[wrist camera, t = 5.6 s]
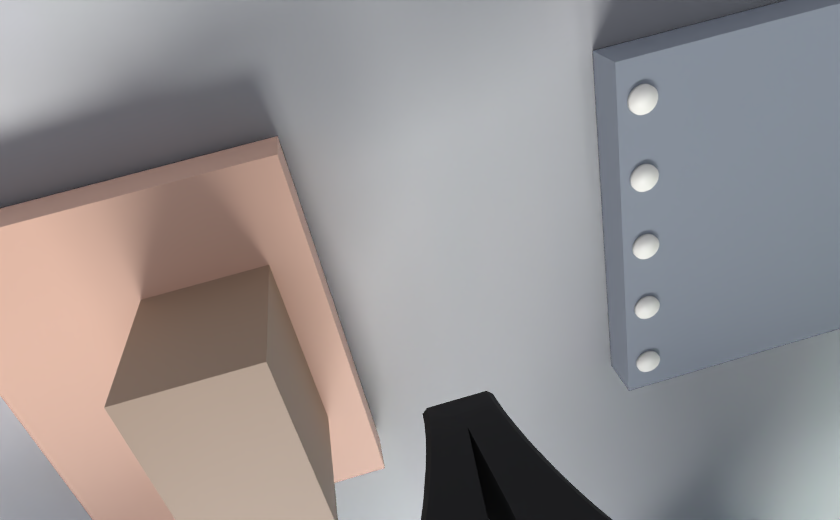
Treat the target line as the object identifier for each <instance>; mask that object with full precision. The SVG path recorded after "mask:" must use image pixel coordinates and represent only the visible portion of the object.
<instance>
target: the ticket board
mask: <svg viewBox="0 0 840 520" xmlns="http://www.w3.org/2000/svg"><path fill="white" fill-rule="evenodd" d="M593 64H594V81H595V97H596V114H597V131H598V148H599V165H600V181H601V198H602V215H603V232H604V248H605V265H606V282H607V299H608V316H609V332H610V349H611V366H612V367H613V369H614V370H615V372H616V373H617V374H618V376H619V377H620V379H621V380H622V382H623V383H624V384H625V386H626V387H627V389H628V390H629V391H630V390H633V389H637V388H640V387H644V386H647V385H650V384H654V383H657V382H660V381H664V380H667V379H671V378H674V377H677V376H681V375H684V374H688V373H691V372H694V371H698V370H701V369H705V368H708V367H711V366H715V365H718V364H722V363H725V362H728V361H732V360H735V359H739V358H742V357H745V356H749V355H752V354H756V353H759V352H762V351H766V350H769V349H773V348H776V347H779V346H783V345H786V344H790V343H793V342H796V341H800V340H803V339H807V338H810V337H813V336H817V335H820V334H824V333H827V332H830V331H834V330H837V329H840V0H786V1H782V2H778V3H774V4H770V5H766V6H763V7H759V8H755V9H751V10H747V11H743V12H740V13H736V14H732V15H728V16H724V17H720V18H717V19H713V20H709V21H705V22H701V23H698V24H694V25H690V26H686V27H682V28H678V29H675V30H671V31H667V32H663V33H659V34H655V35H652V36H648V37H644V38H640V39H636V40H632V41H629V42H625V43H621V44H617V45H613V46H609V47H606V48H602V49H598V50H594V51H593Z"/></svg>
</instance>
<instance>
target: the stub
mask: <svg viewBox="0 0 840 520" xmlns="http://www.w3.org/2000/svg"><path fill="white" fill-rule="evenodd" d="M0 396H1V397H2V398H3V400H4V401H5V402H6V404H7V405H8V406H9V408H10V409H11V410H12V412H13V413H14V415H15V416H16V417H17V419H18V420H19V421H20V423H21V424H22V425H23V427H24V428H25V429H26V431H27V432H28V433H29V435H30V436H31V437H32V439H33V440H34V441H35V443H36V444H37V445H38V447H39V448H40V450H41V451H42V452H43V454H44V455H45V456H46V458H47V459H48V460H49V462H50V463H51V464H52V466H53V467H54V468H55V470H56V471H57V472H58V474H59V475H60V476H61V478H62V479H63V480H64V482H65V483H66V484H67V486H68V487H69V489H70V490H71V491H72V493H73V494H74V495H75V497H76V498H77V499H78V501H79V502H80V503H81V505H82V506H83V507H84V509H85V510H86V511H87V513H88V514H89V515H90V517H91V518H92V519H93V520H338V518H337V507H336V496H335V485H334V483H336V482H339V481H343V480H346V479H350V478H353V477H356V476H360V475H363V474H367V473H370V472H373V471H377V470H380V469H384V468H385V467H384V461H383V456H382V450H381V445H380V439H379V436H378V433H377V430H376V427H375V424H374V421H373V418H372V415H371V412H370V409H369V406H368V403H367V400H366V397H365V394H364V391H363V388H362V385H361V382H360V379H359V376H358V373H357V371H356V368H355V365H354V362H353V359H352V356H351V353H350V350H349V347H348V344H347V341H346V338H345V335H344V332H343V329H342V326H341V323H340V320H339V317H338V314H337V311H336V308H335V305H334V302H333V299H332V296H331V293H330V290H329V287H328V284H327V281H326V278H325V275H324V273H323V270H322V267H321V264H320V261H319V258H318V255H317V252H316V249H315V246H314V243H313V240H312V237H311V234H310V231H309V228H308V225H307V222H306V219H305V216H304V213H303V210H302V207H301V204H300V201H299V198H298V195H297V192H296V189H295V186H294V183H293V180H292V177H291V174H290V172H289V169H288V166H287V163H286V160H285V157H284V154H283V151H282V148H281V145H280V142H279V139H278V136H276V137H272V138H268V139H264V140H260V141H257V142H253V143H249V144H245V145H241V146H237V147H234V148H230V149H226V150H222V151H218V152H214V153H211V154H207V155H203V156H199V157H195V158H192V159H188V160H184V161H180V162H176V163H172V164H169V165H165V166H161V167H157V168H153V169H149V170H146V171H142V172H138V173H134V174H130V175H126V176H123V177H119V178H115V179H111V180H107V181H104V182H100V183H96V184H92V185H88V186H84V187H81V188H77V189H73V190H69V191H65V192H61V193H58V194H54V195H50V196H46V197H42V198H39V199H35V200H31V201H27V202H23V203H19V204H16V205H12V206H8V207H4V208H0Z"/></svg>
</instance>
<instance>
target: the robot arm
mask: <svg viewBox="0 0 840 520" xmlns="http://www.w3.org/2000/svg"><path fill="white" fill-rule="evenodd" d="M423 418H424V423H425V433H426V473H425V486H424V500H423V509H422V516H421V520H612V519H611V518H610V517H608V516H607V515H606V514H605V513H604V512H602V511H601V510H600V509H599V508H598V507H597V506H595V505H594V504H593V503H592V502H591V501H590V500H589V499H587V498H586V497H585V496H584V495H583V494H582V493H581V492H580V491H579V490H578V489H576V488H575V487H574V486H573V485H572V484H571V483H570V482H569V481H568V480H567V479H566V478H565V477H564V476H563V475H562V474H561V473H560V472H559V471H558V470H556V469H555V467H554V466H553V465H552V464H551V463H550V462H549V461H548V460H547V459H546V458H545V457H544V456H543V455H542V454H541V453H540V452H539V451H538V450H537V449H536V448H535V447H534V446H533V444H532V443H531V442H530V441H529V440H528V439H527V438H526V437H525V435H524V434H523V433H522V432H521V431H520V430H519V428H518V427H517V426H516V425H515V424H514V422H513V421H512V420H511V419H510V417H509V416H508V415H507V414H506V412H505V411H504V410H503V408H502V407H501V405H500V404H499V403H498V401H497V400H496V398H495V397H494V395H493V394H492V393H490V392H488V391H485V392H481V393H478V394H474V395H471V396H467V397H464V398H460V399H457V400H453V401H450V402H446V403H443V404H439V405H436V406H433V407H429V408H427V409H426V410H425V412H424V413H423Z"/></svg>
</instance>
